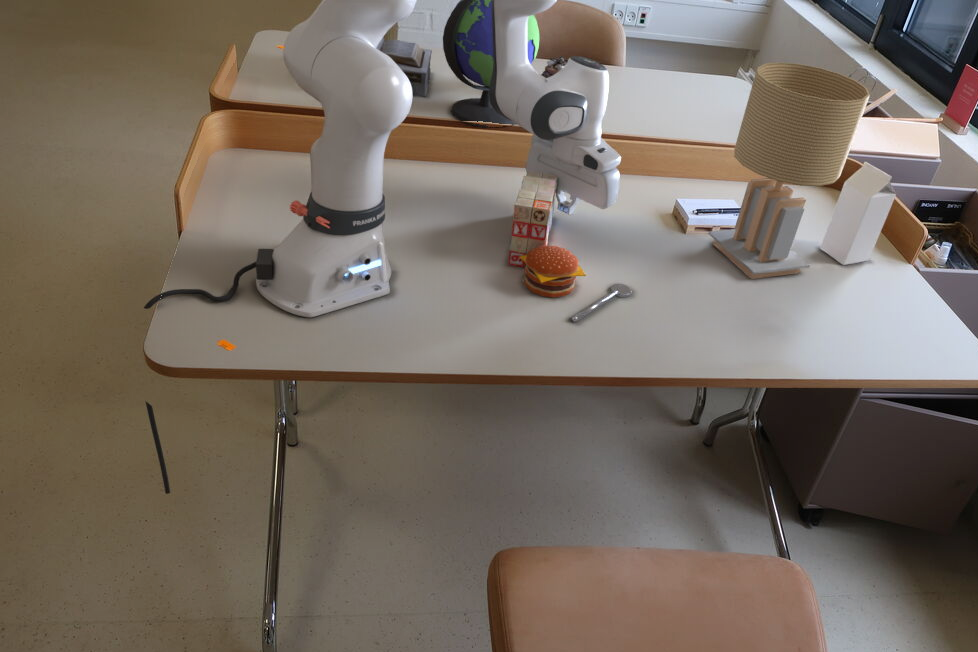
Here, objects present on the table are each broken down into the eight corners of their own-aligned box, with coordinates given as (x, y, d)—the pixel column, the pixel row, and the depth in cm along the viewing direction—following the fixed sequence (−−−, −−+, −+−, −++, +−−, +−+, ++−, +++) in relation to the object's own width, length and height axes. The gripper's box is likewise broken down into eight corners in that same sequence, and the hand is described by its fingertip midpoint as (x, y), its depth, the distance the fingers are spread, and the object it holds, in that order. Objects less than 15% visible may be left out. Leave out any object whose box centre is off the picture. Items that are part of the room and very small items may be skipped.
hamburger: (557, 266, 151) (563, 234, 147) (584, 294, 144) (590, 261, 140) (512, 274, 146) (516, 241, 142) (537, 303, 140) (543, 269, 136)
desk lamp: (688, 238, 166) (734, 62, 145) (766, 231, 174) (821, 62, 153) (742, 289, 152) (802, 103, 132) (825, 279, 160) (894, 100, 139)
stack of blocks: (522, 213, 166) (529, 155, 159) (552, 218, 166) (561, 160, 159) (507, 265, 149) (514, 203, 141) (541, 270, 149) (550, 209, 141)
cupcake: (579, 96, 228) (585, 59, 222) (561, 104, 221) (567, 66, 215) (550, 86, 231) (555, 49, 225) (532, 93, 224) (536, 56, 218)
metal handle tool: (581, 327, 136) (582, 322, 135) (563, 317, 137) (564, 312, 137) (634, 292, 147) (635, 287, 146) (618, 284, 148) (619, 279, 148)
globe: (511, 139, 197) (526, 7, 179) (426, 117, 201) (432, -14, 183) (541, 111, 214) (557, -12, 196) (462, 92, 218) (471, -30, 200)
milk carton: (843, 266, 165) (878, 178, 154) (819, 248, 170) (851, 162, 159) (868, 261, 168) (904, 175, 157) (844, 244, 173) (877, 159, 162)
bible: (348, 58, 228) (347, 21, 222) (443, 75, 227) (445, 38, 221) (317, 84, 209) (316, 44, 203) (421, 102, 208) (423, 63, 202)
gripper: (523, 131, 159) (515, 196, 167) (609, 168, 150) (597, 235, 158) (543, 124, 163) (535, 188, 171) (628, 159, 154) (615, 225, 162)
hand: (565, 211), depth 164 cm, fingers closed
